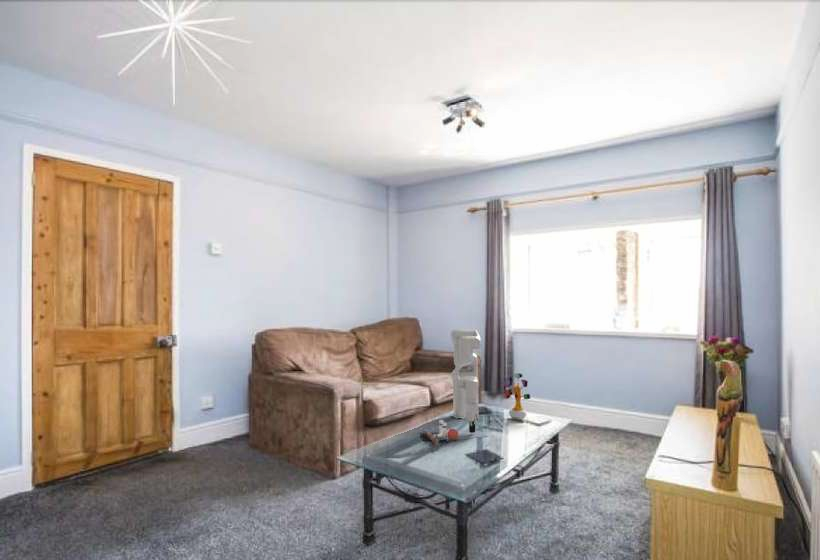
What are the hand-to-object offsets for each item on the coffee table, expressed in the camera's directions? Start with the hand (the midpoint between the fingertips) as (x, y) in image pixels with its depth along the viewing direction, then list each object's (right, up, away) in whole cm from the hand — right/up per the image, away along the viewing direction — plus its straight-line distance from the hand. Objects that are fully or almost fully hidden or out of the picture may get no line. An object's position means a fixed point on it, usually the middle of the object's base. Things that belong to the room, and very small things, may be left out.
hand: (472, 432), depth 255 cm
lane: (-8, -2, -2) cm, 8 cm away
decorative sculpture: (+33, -3, +31) cm, 46 cm away
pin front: (-15, 0, -4) cm, 15 cm away
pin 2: (-17, -1, -8) cm, 19 cm away
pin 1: (-18, -2, -3) cm, 19 cm away
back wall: (-24, -1, -7) cm, 26 cm away
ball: (-12, +2, -8) cm, 15 cm away
